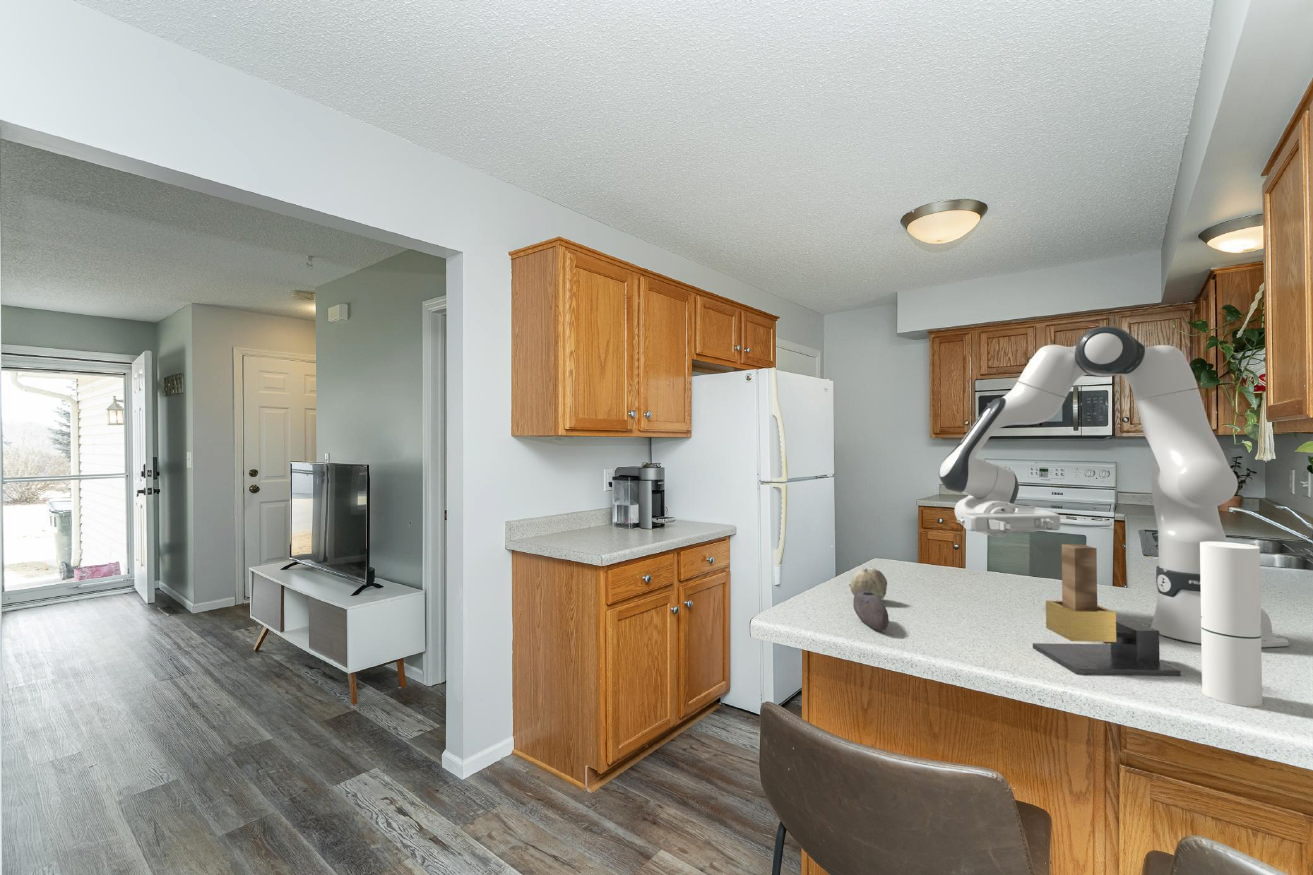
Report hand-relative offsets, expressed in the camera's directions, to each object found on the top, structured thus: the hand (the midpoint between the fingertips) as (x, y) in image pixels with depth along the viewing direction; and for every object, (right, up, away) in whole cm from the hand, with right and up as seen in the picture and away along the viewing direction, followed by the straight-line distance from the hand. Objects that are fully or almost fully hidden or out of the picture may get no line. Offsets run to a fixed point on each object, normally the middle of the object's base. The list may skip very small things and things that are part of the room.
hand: (1028, 526), depth 133 cm
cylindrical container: (+12, -23, -34) cm, 43 cm away
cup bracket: (+3, -23, -18) cm, 30 cm away
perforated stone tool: (-33, -24, +5) cm, 41 cm away
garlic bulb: (-26, -24, +27) cm, 45 cm away
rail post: (-1, -17, -18) cm, 25 cm away
